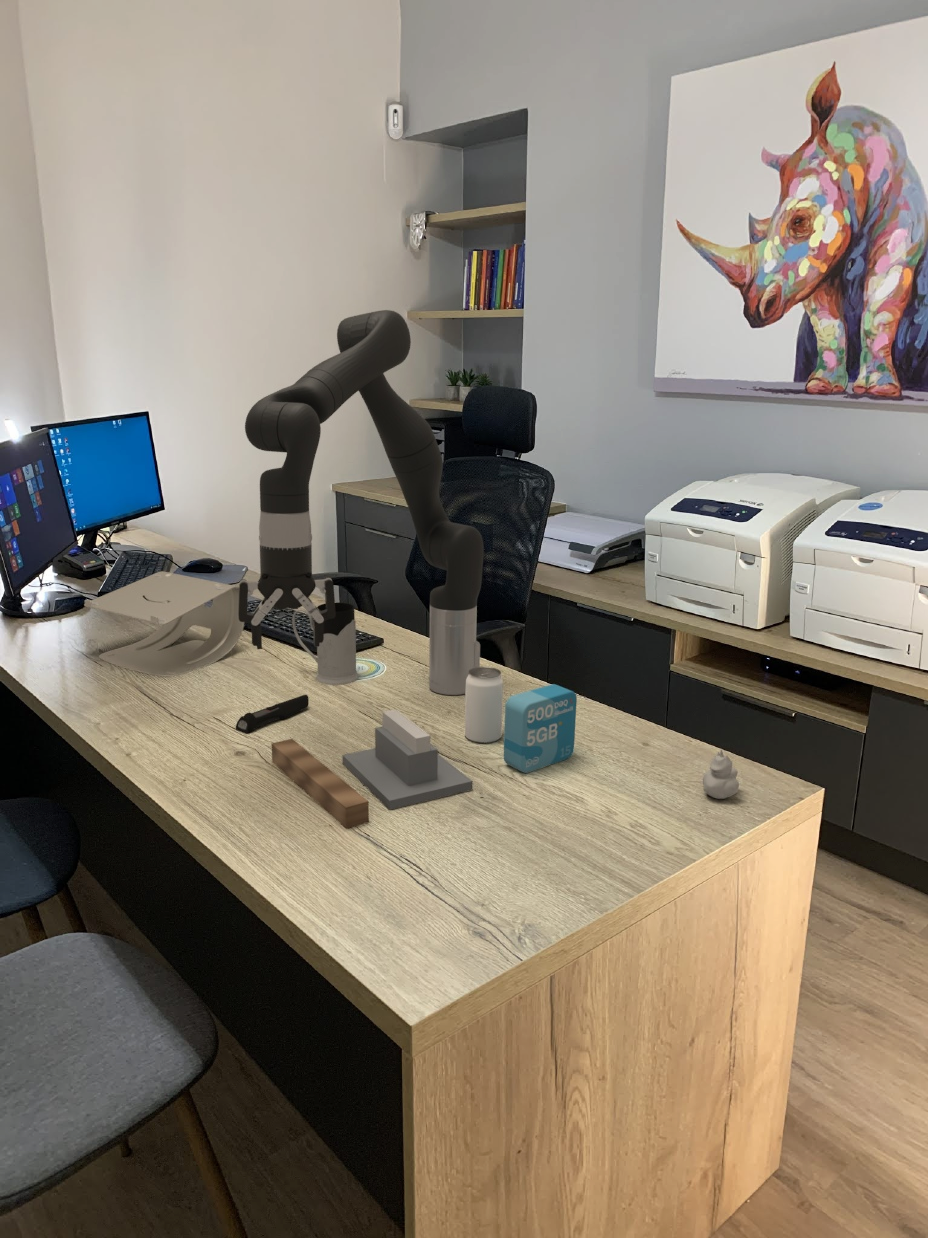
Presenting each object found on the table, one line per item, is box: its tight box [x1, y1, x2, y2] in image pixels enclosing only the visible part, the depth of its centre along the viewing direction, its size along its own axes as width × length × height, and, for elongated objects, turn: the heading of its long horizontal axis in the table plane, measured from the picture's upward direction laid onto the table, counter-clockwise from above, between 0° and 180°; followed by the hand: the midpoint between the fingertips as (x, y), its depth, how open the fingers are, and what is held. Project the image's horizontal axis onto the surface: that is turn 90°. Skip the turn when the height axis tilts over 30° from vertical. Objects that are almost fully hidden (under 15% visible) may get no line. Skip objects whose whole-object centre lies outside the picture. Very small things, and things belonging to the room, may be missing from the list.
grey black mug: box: [291, 602, 359, 686], centre depth 188 cm, size 9×14×15 cm, turn 71°
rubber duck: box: [702, 748, 740, 800], centre depth 140 cm, size 5×7×8 cm
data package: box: [503, 683, 578, 774], centre depth 150 cm, size 12×4×12 cm, turn 129°
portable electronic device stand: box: [83, 571, 245, 678], centre depth 199 cm, size 26×24×16 cm
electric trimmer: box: [235, 694, 309, 734], centre depth 167 cm, size 4×16×3 cm, turn 141°
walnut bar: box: [271, 738, 370, 829], centre depth 140 cm, size 26×4×4 cm, turn 34°
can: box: [464, 666, 504, 744], centre depth 160 cm, size 6×6×12 cm
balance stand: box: [341, 709, 473, 811], centre depth 144 cm, size 14×18×9 cm
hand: (287, 646), depth 139 cm, fingers open, 8 cm apart
